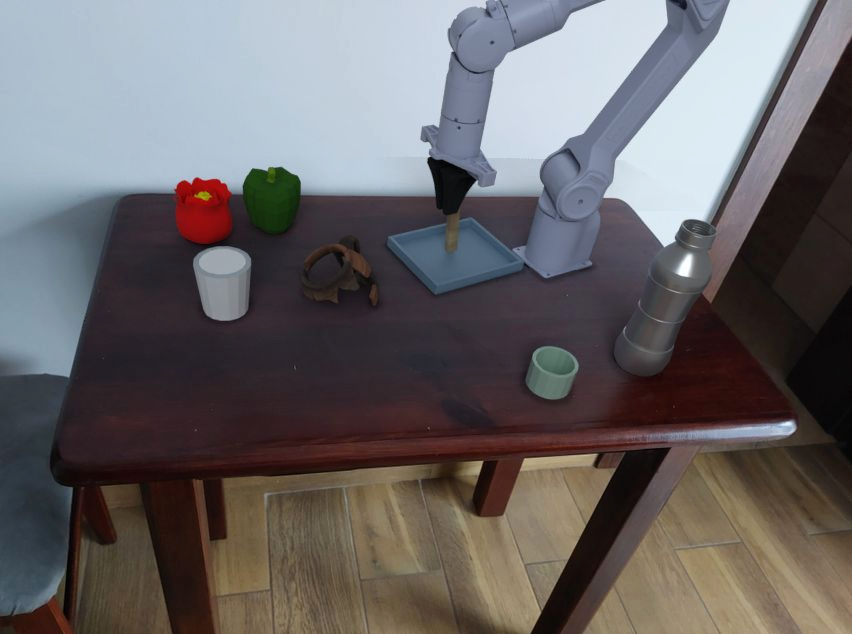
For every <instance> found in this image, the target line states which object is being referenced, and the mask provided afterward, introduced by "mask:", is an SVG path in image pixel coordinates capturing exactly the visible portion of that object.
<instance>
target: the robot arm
mask: <svg viewBox="0 0 852 634" xmlns="http://www.w3.org/2000/svg"><path fill="white" fill-rule="evenodd" d="M605 1H606V0H486V1H485V8H484V7H482V6H480V7H478V6H469V7H467V8H464V9H463V10H461V11H460V12H458V14H457V15H456V18H454V19H453V20H452V22H451V25H450V27H448V28H447V32H446V33H447V41H448V43H449V46H450V48H451V49H452V51H451V52H450V57H449V61H448V70H447V73H446V76H445V82H444V89H443V96H442V101H441V102H442V103H441V109H440V117H439V123H438V126H437V125H435V124H428V125H422V126H421V131H420V138H419V140H420V141H422V142H423V143H429V145H430V147H431V148H429V150H428V155H429V156H428V157H427V159H426V164H427V166H428V169H429V172H430V174H431V178H432V181H433V182H432V183H433V187H434V195H435V207H436V209H437V210H438V211H440V210H442V214H443V215H444V216H446V217H447V215H451V214H455V213H457V212H458V210H459V208H460V209H461V207H460V206H462V204H463V202H464V200H465V198H466V196H467V194H468V193H469V191H470V190H471V189H472V187H473V186H474V184H475V183H476V182H477V186H478V187H480V188H481V189H482V188H488V187H492V186H495V183H496V177H497V173H498V171H497V170H496V169H495V168H493V166H492V165H491V163H490V162H489V160H488V159H487V157H486V156H485V154H484V152H483V151H482V149H481V146H482V140H483V135H484V131H485V127H486V121H487V115H488V110H489V106H490V100H491V95H492V90H493V85H494V76H495V70H496V68H498V67H499V66H500V65H501V63H502V62H503V61H504V59H505V57H506V55H507V54H508V53H511V52H514V51H516V50H518V49H520V48H523V47H525V46H527V45H530V44H532V43H534V42H536V41H538V40H541V39H543V38H545V37H547V36H550V35H552V34H554V33H557V32H559V31H562V30H563V28H564V27H565V25H566V23H567V21H568V20H569V18H570V16H571V15H572V14H573V13H577V12H578V11H581V10H584V9H586V8H589V7H592V6H594V5H598V4H599V3H602V2H605ZM730 2H731V0H665V9H666V17H667V23H666V26H665V27H664V28H663V29H662V31H661V32H660V33H659V34H658V36H657V38H656V39H655V40H654V41H653V42H652V44H651V45H650V46H649V48H648V49H647V50H646V51H645V53H644V54H643V55H642V56H641V58H640V59H639V60H638V62H637V63H636V65H635V66H634V67H633V68H632V70H631V71H630V73H628V75H626V78H625V79H624V80H623V82H622V83H621V84H620V85H619V87H618V88H617V89H616V90H615V92H614V93H613V94H612V95H611V97H610V98H609V100H608V101H607V102H606V103H605V105H604V106H603V108H602V109H601V110H600V111H599V112H598V114H597V115H596V116H595V117H594V119H593V120H592V122H591V123H590V124H589V125H588V127H587V128H586V129H585V131H584V132H583V133H582V134H578V135H575V136H572V137H569V138H568V139H567V140H566V141H565V142H564V144H563V145H562V146H561V147H560V148H558V149H557V150H556V151H554V152H552V153H551V154H549V155H548V156H547V157H546V158H545V159H544V161H542V164H541V166H540V168H539V179H540V182H541V184H542V186H543V188H542V193H541V194H540V195H539V198H538V202H537V205H536V209H535V212H534V217H533V219H532V224H531V226H530V231H529V234H528V238H527V242H526V244H525V245H521V246H517V247H514V248H512V249H511V251H512V252H513V253H515V254H516V255H517V256H518V257H519V258H521V259H522V260H523V261H524V264H525V265H526V266H527V267H529V268H530V269H533V270H534V271H535V272H536V273H538V274H539V275H540V276H541V277H542V278H544V279H549V278H552V277H555V276H559V275H562V274H566V273H569V272H573V271H579V270H582V269H583V270H584V269H586V268H590V267H592V266H593V262H592V261H591V260H590V257H591V254H592V251H593V248H594V246H595V243H596V241H597V237H598V234H599V231H600V228H601V214H600V212H599V209H600V208H601V205H602V203H603V200H604V196H605V193H606V191H607V190H608V189H609V187H610V186H611V185H612V184H613V183H614V182H613V181H614V177H615V176H614V175H615V169H616V168H615V167H616V160H617V158H618V157H619V156H620V154H621V153H622V152H623V151H624V150H625V148H626V147H627V146H628V145H629V144H630V143H631V141H632V140H633V139H634V137H635V136H636V135H637V134H638V133H639V132H640V130H641V129H642V128H643V127H644V125H646V124H647V121H648V120H649V119H650V118H651V117H652V116H653V114H655V112H656V111H657V109H658V108H659V107H660V106H661V104H662V103H663V102H664V101H665V100H666V98H667V97H668V96H669V95H670V94H671V92H672V91H673V90H674V89H675V88H676V86H677V85H678V84H679V83H680V81H681V80H682V79H683V78H684V76H685V75H686V74H687V73H688V72H689V70H690V69H691V68H692V67H693V65H695V63H696V62H697V61H698V59H699V58H700V57H701V56H702V55H703V54H704V52H705V51H706V50H707V49H708V47H709V46H710V45H711V43H712V42H713V41H714V40H715V38H716V37H717V36H718V34H719V32H720V29H721V26H722V24H723V20H724V18H725V15H726V13H727V10H728V7H729V4H730Z"/></svg>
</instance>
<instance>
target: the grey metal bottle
mask: <svg viewBox="0 0 852 634" xmlns="http://www.w3.org/2000/svg"><path fill="white" fill-rule="evenodd" d="M717 235H718V230H717V229H716V227H715V226H714V225H712V224H710V223H709V222H707V221H706V220H705V221H704V220H701V219H696V218H686V219H684V220H683V221H682V222H681V224H680V225H679V228H678V230H677V231H676V233H675V235H674V241H673V242H670V243H669V244H667V245H665V246H664V247H662V248H661V249H659V251H657V253H656V254H654V256H653V257H652V258H651V261H650V262H649V266H648V270H647V275H646V279H645V282H644V286H643V289H642V292H641V294H640V298H639V301H638V303H637V306H636V308H635V310H634V311H633V313H632V315H631V317H630V319H629V320H628V322H627V324H626V325H625V326H624V328H623V329H622V330H621V332H620V333H619V334H618V336H617V338H616V340H615V342H614V348H613V356H614V359H615V362H616V364H617V365H618V366H619V367H620V368H621V369H622V370H623V371H625V372H627V373H629V374H631V375H633V376H638V377H642V378H643V377H653V376H655V375H657V374H659V373H661V372H662V371H663V370H664V369H665V368H666V367H667V366H668V364H669V363H670V361H671V359H672V356H673V352H674V347H675V343H676V341H677V338H678V335H679V332H680V330H681V327H682V324H683V323H684V322H685V319H686V317H687V316H688V314H689V313H690V311H691V309H692V307H693V306H694V304H695V303H696V302H697V301H698V299H699V297H700V296H701V295H702V294H703V292H704V291H705V290H706V288H707V287H708V285H709V284H710V282H711V280H712V277H713V264H712V260H711V257H710V255H709V252H708V251H711V249H712V248H713V246H714V241H715V240H716V237H717Z"/></svg>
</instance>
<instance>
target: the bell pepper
mask: <svg viewBox="0 0 852 634" xmlns="http://www.w3.org/2000/svg"><path fill="white" fill-rule="evenodd" d="M241 187H242V198H243V199H242V200H243V202H244V206H245V210H246V213H247V217H248V219H249V221H250V222H251V223H252V225H253V226H255V227H256V228H259V229H260V230H261V231H263V232H264V233H266V234H274V235H277V234H282V233H283V234H284V233H285V232H287V230H288V229H289V228H290V227H291V226H292V224H293V222H294V220H295V219H296V216H297V213H298V211H299V207H300V204H301V195H302V183H301V180H300V177H299V175H298V174H294V173H291V171H289V170H288V169H286V168H284V167H283V166H276V167H274V166H268V168H267V170H266V169H261V168H254V167H252V168H251V169H250V170H249V172H248V173H247V175H246V177H245V178H244V180H243V183H242V186H241Z"/></svg>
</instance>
